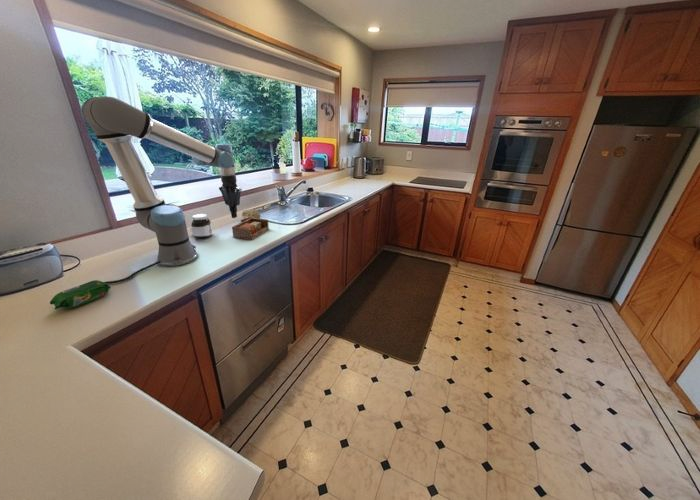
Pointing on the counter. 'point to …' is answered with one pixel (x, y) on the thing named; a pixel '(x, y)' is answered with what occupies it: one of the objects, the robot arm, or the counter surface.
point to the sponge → (250, 214)
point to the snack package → (80, 294)
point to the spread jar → (201, 226)
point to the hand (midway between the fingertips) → (234, 217)
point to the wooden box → (250, 228)
